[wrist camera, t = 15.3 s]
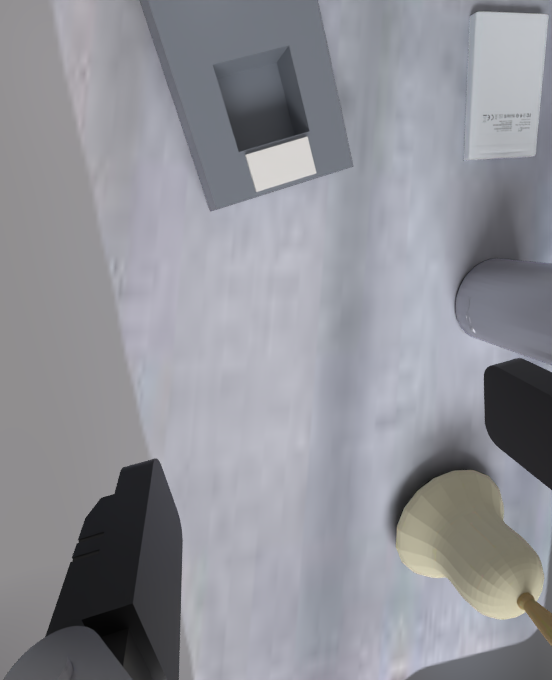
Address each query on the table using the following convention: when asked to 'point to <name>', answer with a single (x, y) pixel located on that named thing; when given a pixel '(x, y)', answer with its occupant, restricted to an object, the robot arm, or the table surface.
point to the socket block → (251, 92)
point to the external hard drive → (504, 84)
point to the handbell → (472, 547)
